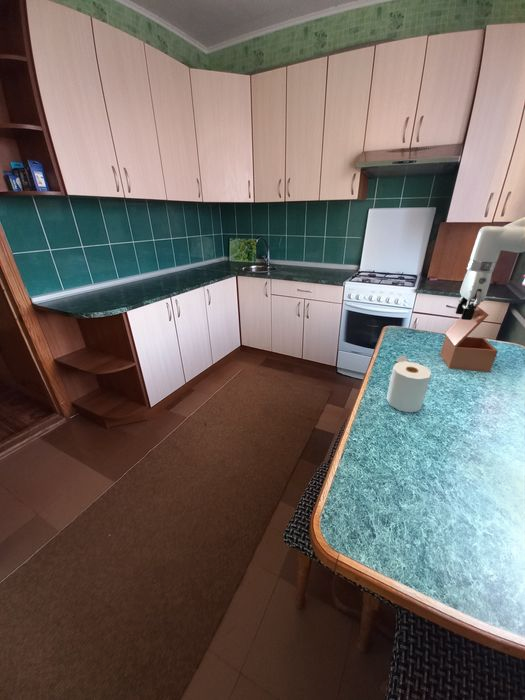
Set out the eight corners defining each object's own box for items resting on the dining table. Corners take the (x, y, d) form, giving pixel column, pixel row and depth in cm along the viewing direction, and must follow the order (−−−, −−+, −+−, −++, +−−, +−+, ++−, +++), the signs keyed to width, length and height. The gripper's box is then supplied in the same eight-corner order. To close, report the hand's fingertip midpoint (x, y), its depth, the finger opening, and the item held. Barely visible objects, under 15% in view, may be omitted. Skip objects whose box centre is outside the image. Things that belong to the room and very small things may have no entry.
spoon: (409, 360, 116) (409, 356, 115) (396, 383, 101) (397, 379, 100) (398, 357, 118) (398, 353, 117) (384, 380, 103) (385, 376, 102)
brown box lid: (475, 304, 108) (463, 297, 108) (489, 314, 98) (475, 307, 98) (446, 334, 116) (435, 327, 116) (456, 346, 106) (443, 339, 106)
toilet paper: (387, 390, 98) (394, 358, 92) (421, 397, 94) (430, 365, 88) (385, 407, 90) (392, 374, 84) (422, 416, 86) (432, 381, 80)
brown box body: (477, 357, 117) (484, 337, 113) (489, 372, 107) (498, 350, 103) (439, 354, 120) (445, 334, 116) (448, 368, 110) (455, 347, 106)
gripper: (505, 271, 89) (484, 326, 98) (482, 262, 104) (465, 310, 113) (478, 270, 91) (459, 324, 99) (459, 261, 106) (444, 308, 114)
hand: (463, 316), depth 106 cm, fingers closed on brown box lid, 5 cm apart
